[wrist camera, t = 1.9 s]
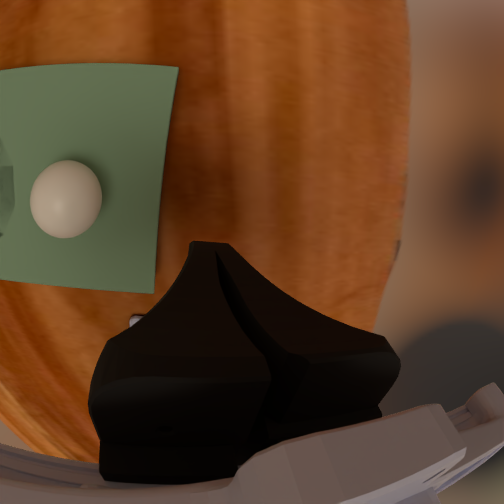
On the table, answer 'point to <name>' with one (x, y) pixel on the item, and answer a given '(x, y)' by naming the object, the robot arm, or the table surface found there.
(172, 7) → the table surface
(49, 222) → the ball
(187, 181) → the table surface
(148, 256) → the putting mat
